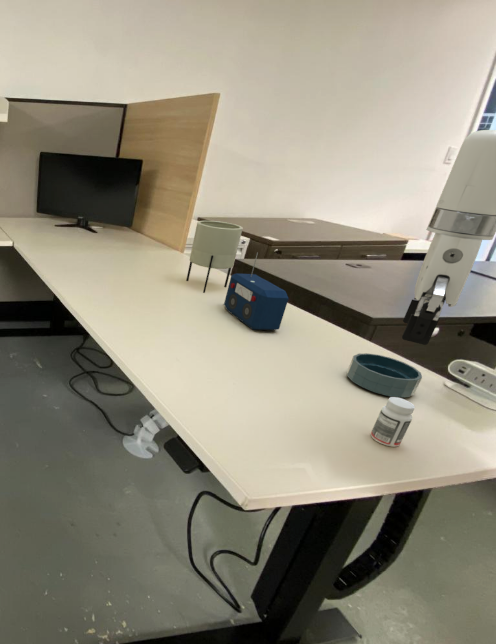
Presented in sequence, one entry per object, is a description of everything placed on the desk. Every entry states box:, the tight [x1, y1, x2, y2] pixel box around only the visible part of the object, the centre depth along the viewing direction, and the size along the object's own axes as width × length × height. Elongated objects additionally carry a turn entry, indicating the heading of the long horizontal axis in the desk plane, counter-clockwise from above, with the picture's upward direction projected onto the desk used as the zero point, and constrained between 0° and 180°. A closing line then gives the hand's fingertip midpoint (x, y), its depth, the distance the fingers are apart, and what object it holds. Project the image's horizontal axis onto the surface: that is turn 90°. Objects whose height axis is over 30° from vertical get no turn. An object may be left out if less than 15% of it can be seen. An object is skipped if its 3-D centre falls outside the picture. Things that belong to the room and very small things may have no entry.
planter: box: [185, 220, 244, 294], centre depth 169 cm, size 15×16×23 cm
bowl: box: [346, 352, 423, 398], centre depth 109 cm, size 13×13×5 cm
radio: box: [223, 251, 289, 331], centre depth 140 cm, size 21×9×20 cm, turn 6°
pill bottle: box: [370, 396, 416, 447], centre depth 87 cm, size 5×5×8 cm
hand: (414, 332), depth 74 cm, fingers open, 9 cm apart
